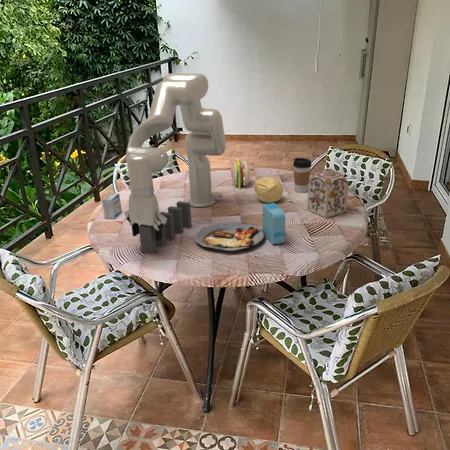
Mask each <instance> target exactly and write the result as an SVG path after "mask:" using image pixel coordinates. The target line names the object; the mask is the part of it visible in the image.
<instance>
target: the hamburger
mask: <svg viewBox="0 0 450 450" xmlns="http://www.w3.org/2000/svg"><path fill="white" fill-rule="evenodd" d="M232 176H233V177H232V178H233V182H234V185H235V186H236V187H238V190H241V187H242V186H243V187H246V186H248V185H249V183H250V180H251V169H250V166H249V164H248V162H247V161H245V160H242V161H239V158H236V161H235V162H234V164H233V168H232Z"/></svg>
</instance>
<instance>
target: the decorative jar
mask: <svg viewBox="0 0 450 450" xmlns="http://www.w3.org/2000/svg"><path fill="white" fill-rule="evenodd" d="M348 193H349V181H348V180H347V178H346V177H345V176H344V174H343V173H341V172H337V171H336V169H335V168H324V169H323V170H322V171H316V172H315V173H314V174H313V175H312V176H310V178H309V184H308V191H307V211H309V212H312V213H314V214H316V215H318V216H320V217H322V218H324V219H327V218H332V217H335V216H337V215H341V214H345V213H346V212H347V208H348ZM344 212H345V213H344Z"/></svg>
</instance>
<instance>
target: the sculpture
mask: <svg viewBox="0 0 450 450" xmlns="http://www.w3.org/2000/svg"><path fill="white" fill-rule="evenodd" d="M253 186H254V191H255V193H256V195H257V197H258V199H259V201H261V202H263V203H264V204H271V203H275V202H278V201H280V200H281V198H282V197H283V193H284V189H283V185H282V183H281V182H280V181H279V180H278V179H276V178H275V177H268V176H264V177H263V178H259V179H257V180H256V181H255V182H254V184H253Z"/></svg>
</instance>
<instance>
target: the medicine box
mask: <svg viewBox="0 0 450 450" xmlns="http://www.w3.org/2000/svg"><path fill="white" fill-rule="evenodd" d="M101 202H102V209H103V214H104V215H103V216H104V218H105V219H106V220H107V219H108V220H109V219H111V220H115V219H116V218H117V217H118V216H119V215H120V214H121V213H122V212H123V211H122V203H121V197H120V193H115V192H113V193H109V194H108V195H106V196H105V197H103V198H102V200H101Z"/></svg>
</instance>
